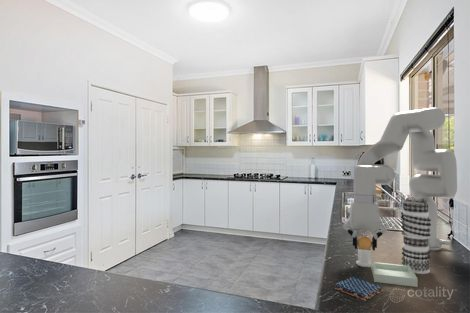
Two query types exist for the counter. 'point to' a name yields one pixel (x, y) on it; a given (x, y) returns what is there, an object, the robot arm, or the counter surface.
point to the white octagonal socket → (364, 257)
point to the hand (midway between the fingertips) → (364, 248)
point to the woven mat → (359, 288)
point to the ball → (364, 243)
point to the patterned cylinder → (416, 234)
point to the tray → (394, 274)
